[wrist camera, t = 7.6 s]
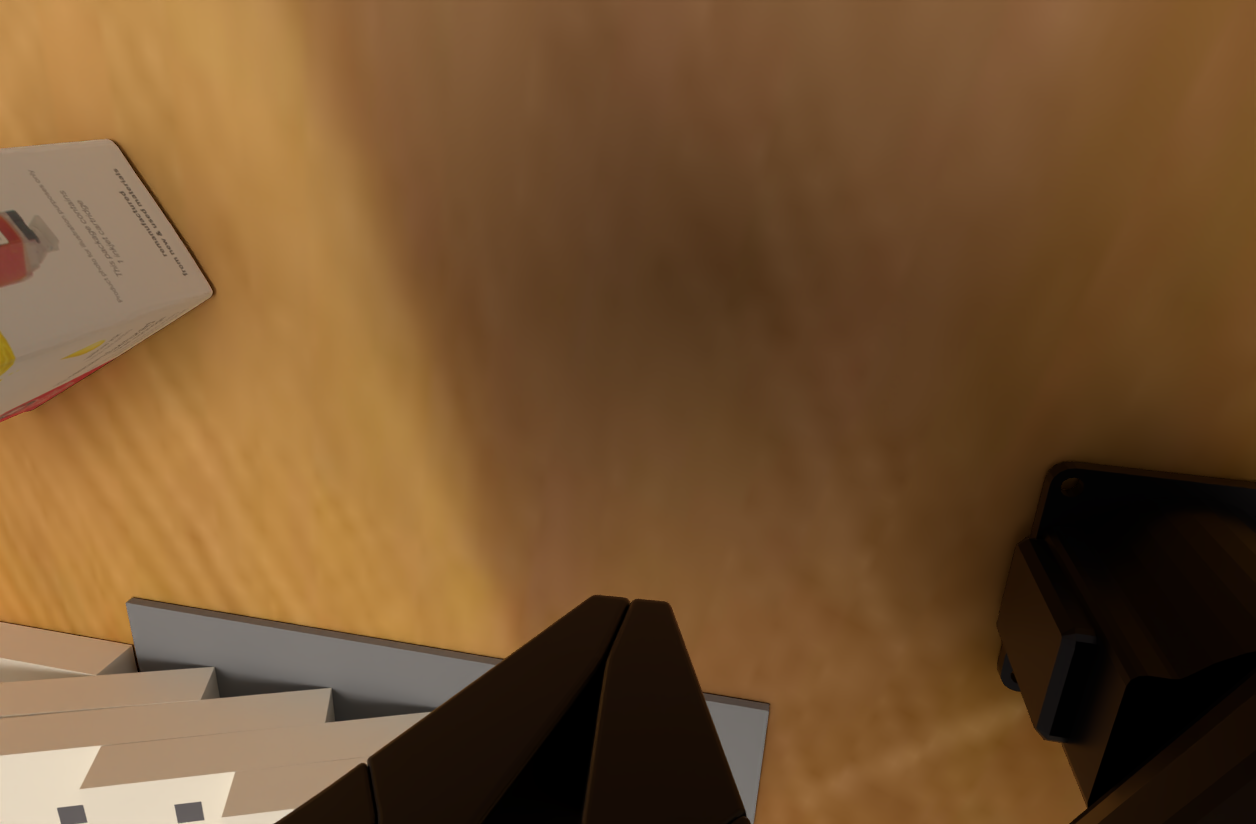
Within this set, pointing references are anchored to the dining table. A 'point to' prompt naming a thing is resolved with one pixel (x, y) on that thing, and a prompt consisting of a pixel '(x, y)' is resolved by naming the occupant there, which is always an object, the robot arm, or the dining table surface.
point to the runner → (368, 673)
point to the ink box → (81, 267)
